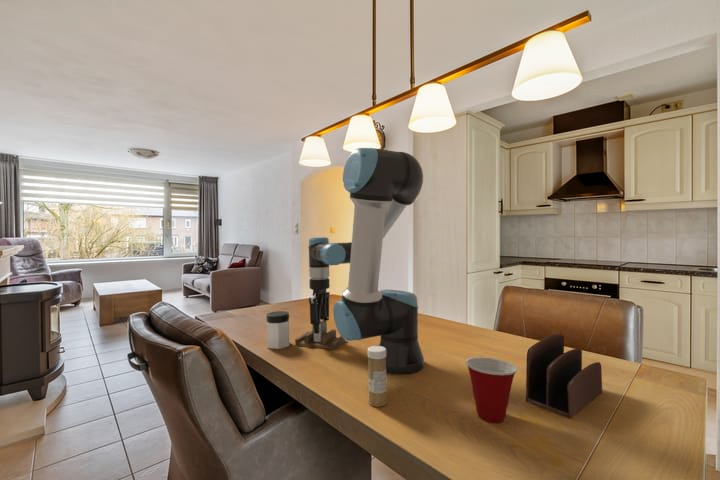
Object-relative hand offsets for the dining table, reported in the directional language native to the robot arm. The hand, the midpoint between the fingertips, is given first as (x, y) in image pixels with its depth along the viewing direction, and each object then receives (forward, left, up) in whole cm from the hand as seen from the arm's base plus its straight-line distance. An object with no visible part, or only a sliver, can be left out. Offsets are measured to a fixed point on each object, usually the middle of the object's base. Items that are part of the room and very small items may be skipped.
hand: (320, 339), depth 128 cm
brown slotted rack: (0, 0, -1) cm, 1 cm away
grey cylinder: (0, 0, 0) cm, 0 cm away
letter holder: (-77, +21, -2) cm, 79 cm away
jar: (+14, +7, -2) cm, 16 cm away
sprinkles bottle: (-33, +37, -2) cm, 50 cm away
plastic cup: (-59, +35, -2) cm, 69 cm away
